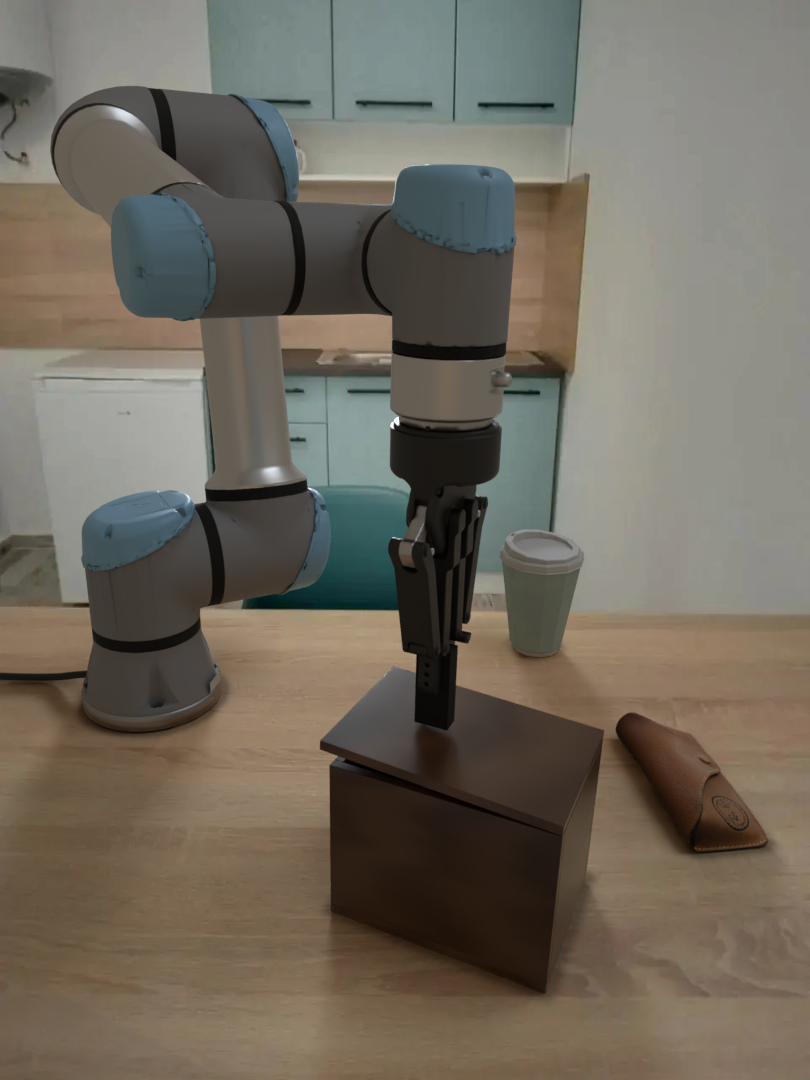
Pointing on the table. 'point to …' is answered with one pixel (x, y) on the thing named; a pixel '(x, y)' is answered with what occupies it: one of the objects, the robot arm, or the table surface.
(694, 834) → the sunglasses case
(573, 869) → the chest
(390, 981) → the table surface
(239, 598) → the robot arm
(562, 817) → the lid
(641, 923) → the table surface
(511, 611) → the disposable coffee cup
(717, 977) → the table surface
